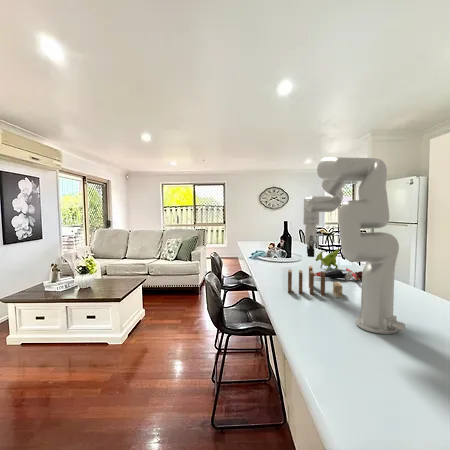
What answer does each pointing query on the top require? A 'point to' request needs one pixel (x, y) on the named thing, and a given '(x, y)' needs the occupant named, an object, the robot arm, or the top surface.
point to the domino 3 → (309, 273)
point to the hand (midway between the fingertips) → (310, 255)
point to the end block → (337, 289)
